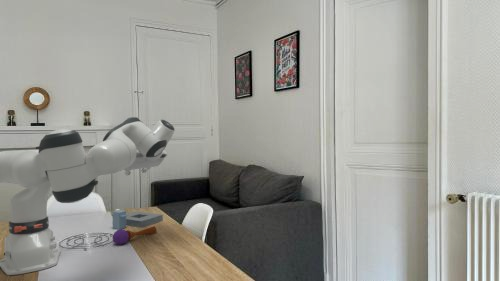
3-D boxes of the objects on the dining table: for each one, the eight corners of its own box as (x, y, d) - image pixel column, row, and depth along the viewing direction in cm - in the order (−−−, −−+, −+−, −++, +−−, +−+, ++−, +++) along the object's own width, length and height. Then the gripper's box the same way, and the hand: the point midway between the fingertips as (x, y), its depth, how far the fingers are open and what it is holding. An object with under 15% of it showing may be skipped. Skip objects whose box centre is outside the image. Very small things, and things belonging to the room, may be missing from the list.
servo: (128, 228, 162) (128, 209, 161) (121, 230, 158) (121, 211, 158) (117, 226, 165) (117, 207, 165) (110, 228, 162) (110, 209, 161)
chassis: (162, 220, 174) (162, 214, 174) (141, 227, 162) (141, 221, 162) (137, 216, 183) (137, 211, 183) (115, 223, 170) (115, 217, 170)
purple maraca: (159, 225, 151) (119, 233, 134) (157, 238, 151) (117, 248, 135) (150, 221, 154) (110, 228, 138) (148, 234, 154) (108, 243, 138)
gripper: (134, 158, 140) (119, 181, 145) (170, 154, 158) (155, 175, 163) (126, 147, 142) (112, 170, 147) (162, 145, 160) (148, 165, 165)
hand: (135, 173), depth 155 cm, fingers open, 8 cm apart
